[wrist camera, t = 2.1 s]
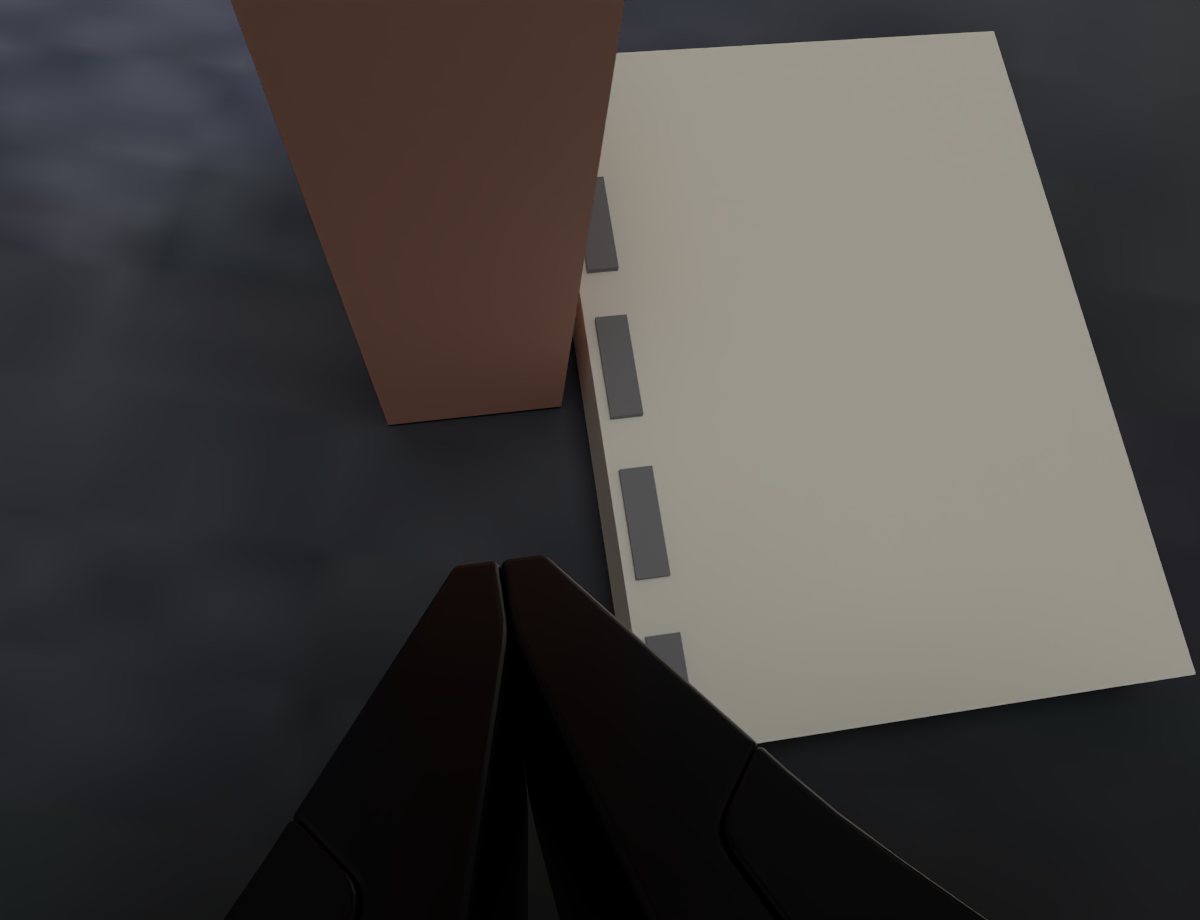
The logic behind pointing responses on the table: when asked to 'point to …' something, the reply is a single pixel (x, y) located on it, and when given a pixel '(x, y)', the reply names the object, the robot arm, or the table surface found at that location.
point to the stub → (446, 181)
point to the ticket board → (853, 393)
